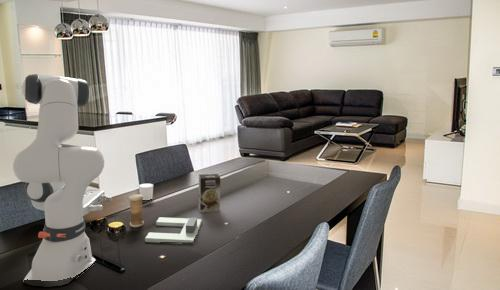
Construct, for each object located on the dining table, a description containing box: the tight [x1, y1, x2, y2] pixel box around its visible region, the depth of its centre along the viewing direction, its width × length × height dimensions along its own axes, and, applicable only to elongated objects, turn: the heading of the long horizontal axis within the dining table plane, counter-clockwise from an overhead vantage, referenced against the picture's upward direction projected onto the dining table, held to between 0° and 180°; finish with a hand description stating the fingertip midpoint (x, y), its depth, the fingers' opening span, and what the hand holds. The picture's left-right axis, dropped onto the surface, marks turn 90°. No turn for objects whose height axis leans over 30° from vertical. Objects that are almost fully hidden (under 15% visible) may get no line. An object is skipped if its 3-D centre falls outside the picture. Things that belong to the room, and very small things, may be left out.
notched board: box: [144, 217, 203, 243], centre depth 156 cm, size 20×18×4 cm
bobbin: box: [128, 194, 145, 228], centre depth 161 cm, size 6×6×12 cm
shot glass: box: [138, 182, 154, 201], centre depth 191 cm, size 7×7×7 cm
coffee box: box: [197, 173, 221, 213], centre depth 179 cm, size 9×6×16 cm
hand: (106, 203), depth 161 cm, fingers open, 8 cm apart
